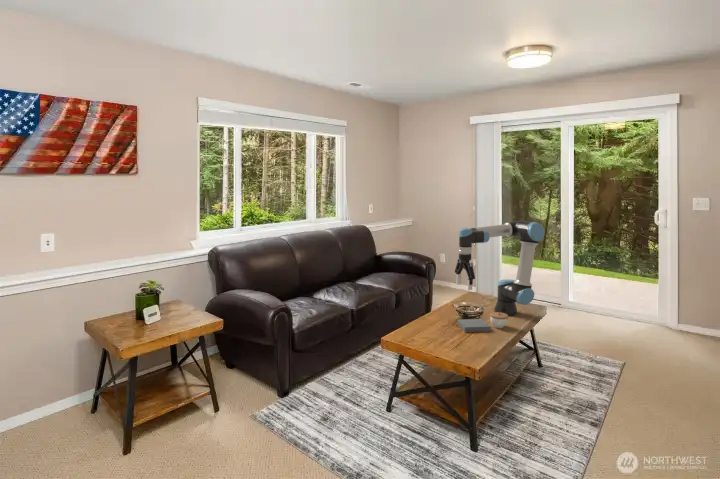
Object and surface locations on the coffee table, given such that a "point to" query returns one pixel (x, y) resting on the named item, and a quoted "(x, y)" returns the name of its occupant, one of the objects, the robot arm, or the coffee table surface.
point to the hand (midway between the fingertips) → (464, 287)
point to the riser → (473, 325)
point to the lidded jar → (498, 319)
